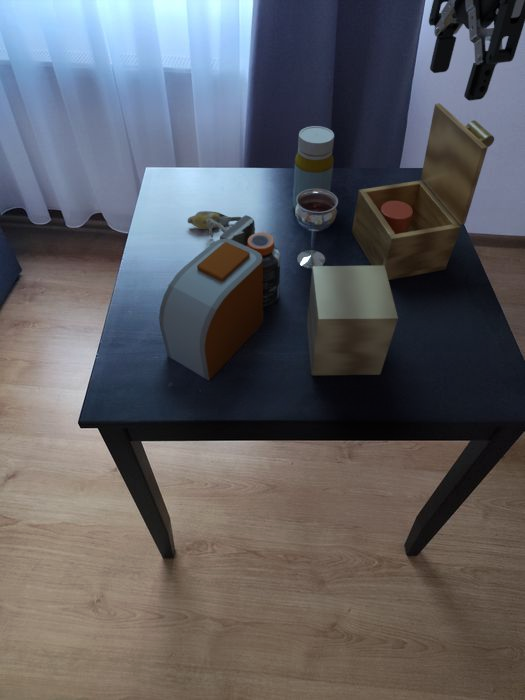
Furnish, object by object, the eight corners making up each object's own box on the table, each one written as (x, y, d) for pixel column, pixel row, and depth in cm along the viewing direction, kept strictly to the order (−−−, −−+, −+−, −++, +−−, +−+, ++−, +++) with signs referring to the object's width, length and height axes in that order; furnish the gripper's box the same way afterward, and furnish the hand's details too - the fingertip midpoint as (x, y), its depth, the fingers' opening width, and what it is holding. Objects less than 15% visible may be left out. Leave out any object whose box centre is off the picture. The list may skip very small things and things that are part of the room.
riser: (369, 323, 75) (384, 265, 66) (380, 374, 69) (398, 318, 59) (306, 324, 75) (312, 265, 66) (311, 375, 69) (318, 319, 59)
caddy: (381, 281, 81) (392, 238, 74) (351, 232, 90) (358, 189, 83) (445, 269, 83) (461, 226, 76) (410, 222, 91) (422, 179, 84)
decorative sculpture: (186, 227, 91) (181, 193, 85) (231, 211, 94) (228, 177, 88) (226, 276, 82) (223, 241, 76) (274, 256, 85) (274, 222, 79)
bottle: (334, 212, 94) (344, 137, 82) (305, 223, 91) (311, 148, 80) (314, 194, 97) (321, 121, 86) (285, 205, 95) (288, 131, 84)
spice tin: (405, 243, 86) (416, 205, 80) (397, 260, 83) (408, 222, 77) (377, 235, 87) (386, 197, 81) (368, 252, 84) (377, 213, 78)
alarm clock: (226, 297, 79) (220, 229, 68) (268, 318, 76) (268, 251, 65) (165, 354, 71) (147, 288, 61) (209, 381, 68) (199, 316, 58)
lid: (482, 148, 65) (516, 140, 66) (434, 103, 74) (465, 97, 74) (460, 225, 76) (490, 217, 76) (420, 178, 84) (447, 171, 84)
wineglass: (303, 276, 82) (307, 217, 73) (285, 252, 86) (288, 194, 77) (337, 265, 84) (346, 206, 74) (318, 243, 88) (325, 184, 78)
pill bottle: (284, 288, 80) (287, 233, 71) (270, 312, 77) (271, 257, 68) (253, 278, 82) (251, 223, 73) (237, 301, 78) (233, 246, 70)
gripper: (590, -92, 41) (517, 105, 53) (499, -113, 50) (454, 60, 62) (511, -86, 40) (455, 113, 52) (433, -109, 49) (401, 66, 61)
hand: (455, 84), depth 57 cm, fingers open, 8 cm apart
